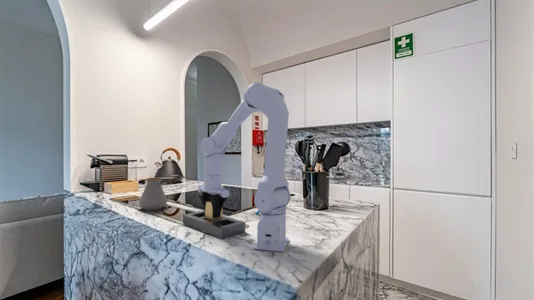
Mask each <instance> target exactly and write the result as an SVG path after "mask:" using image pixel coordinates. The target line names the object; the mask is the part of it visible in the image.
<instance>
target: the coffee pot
mask: <svg viewBox="0 0 534 300" xmlns="http://www.w3.org/2000/svg"><path fill="white" fill-rule="evenodd" d="M183 178H184V179H183ZM185 178H186V177H185V176H184V175H183V174H182V175H181V174H180V175H177V176H176V177H172V178H171V179H169V180H166V181H165V182H163V183H161V180H162V177H149V178H145V181H146V185H145V188H144V190H143V191H142V194H141V196H140V198H139V201H138V205H139V206H140V207H141V208H142V209H143V210H146V211H155V210H161V209H163V207H164V206H166V205H167V203H168V199H167V196H166V194H165V191H164V190H163V187H164V186H165V185H167V184H169V183H173V182H175V181H176V180H179V179H181V180H182V181H183V180H185Z"/></svg>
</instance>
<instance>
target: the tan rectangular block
mask: <svg viewBox="0 0 534 300" xmlns="http://www.w3.org/2000/svg"><path fill="white" fill-rule="evenodd" d="M223 208H224V206H223V207H222V210H221V214H220V217H219V218H214V217H213V210H212V204H211V201H206V204H205V220H207V221H210V222H211V221H215V220H219V219H222V216H223Z"/></svg>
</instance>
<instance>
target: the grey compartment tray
mask: <svg viewBox="0 0 534 300" xmlns="http://www.w3.org/2000/svg"><path fill="white" fill-rule="evenodd" d="M183 223H184V225H185V224H186V226H188V225H189V226H188V227H190V226H192V227H191V228H193V227H194V229H195V228H197V229H196V230H198V229H199V230H198V231H200V230H202V231H201V232H203V231H205V232H207V233H206V234H208V233H210V234H212V235H211V236H213V235H214V236H213V237H216V238H218V239H221V240H224V239H227V238H231V237H234V236H237V235H240V234H243V233H245V232H246V222H245V221H241V220H239V219H235V218H232V217H228V216H226V215H222V219H219V220H215V221H211V222H210V221H207V220H205V211H204V210H201V211H196V212H189V213H186V214H183V215H182V224H183ZM205 232H204V233H205ZM210 234H209V235H210Z"/></svg>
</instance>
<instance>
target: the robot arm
mask: <svg viewBox="0 0 534 300" xmlns="http://www.w3.org/2000/svg"><path fill="white" fill-rule="evenodd" d="M242 98H243V99H242V101H241V102H240V103H239V105H238V107H236V109H235V111H234V112H233V113H232V115H231V116H230V118H229V120H228V121H222V122H221V123H219V124H218V127H217V128H216V130H214V132H213V133H212V134H211V135H210V136H208V137H204V138H203V139H202V141H201V143H200V153H201V155H203V185H201V186H199V185H198V186H197V192H198V193H202V194H198V198H199V199H200V201H201V203H202V206H203V211H205V204H206V201H211V204H212V210H213V217H214V218H219V217H220V214H221V210H222V207H223V208H224V204H225V202H226V201H227V199H228V198H229V197H230V190H228V189H225V187H223V185H222V184H223V183H222V181H223V180H222V179H223V178H222V176H223V175H222V174H223V167H222V166H223V161H224V155H225V153H226V151H227V145H228V144H229V143H230V142H231V141H232V140H233V139H234V138H235V136H237V129H238V128H239V127H240V126H241V125H242V124H243V123H244V122H245V121H246V120H247V119H248V118H249V117H250V116H251V115H252V114H253V113H259V112H261V113H263V114H264V116H265V117H266V118H267V130H266V131H267V132H266V145H265V159H264V169H263V170H264V171H263V176H262V177H261V179H260V181H259V182H258V184H257V189H256V190H257V191H256V192H255V194H254V199H253V200H254V201H253V203H254V202H255V203H254V205H255V207H256V209H257V211H258V210H259V212H260V213H259V221H258V222H257V229H256V230H257V234H256V235H257V237H256V238H257V240H256V242H255V245H254V246H253V249H254V250H260V251H263V250H264V251H271V252H280V253H281V252H285V249H286V247H287V244H288V242H289V238H290V237H287V236H286V235H287V233H286V231H287V229H286V228H287V221H286V219H287V206H288V205H289V203H290V202H291V199H292V198H291V196H292V195H291V193H290V190H289V181H288V179H286V178H285V169H286V168H285V167H286V154H287V143H288V142H287V139H288V129H289V116H290V115H289V114H290V113H289V110H288V107H287V104H286V102H285V94H283V93H282V92H281V91H280V90H279V89H277V88H274V87H270V86H268V85H266V84H262V83H261V82H259V81H255V82H253V83H251V84H250V85H249V86H248V87H247V90H245V91H244V92H243V97H242ZM222 211H223V210H222Z"/></svg>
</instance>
